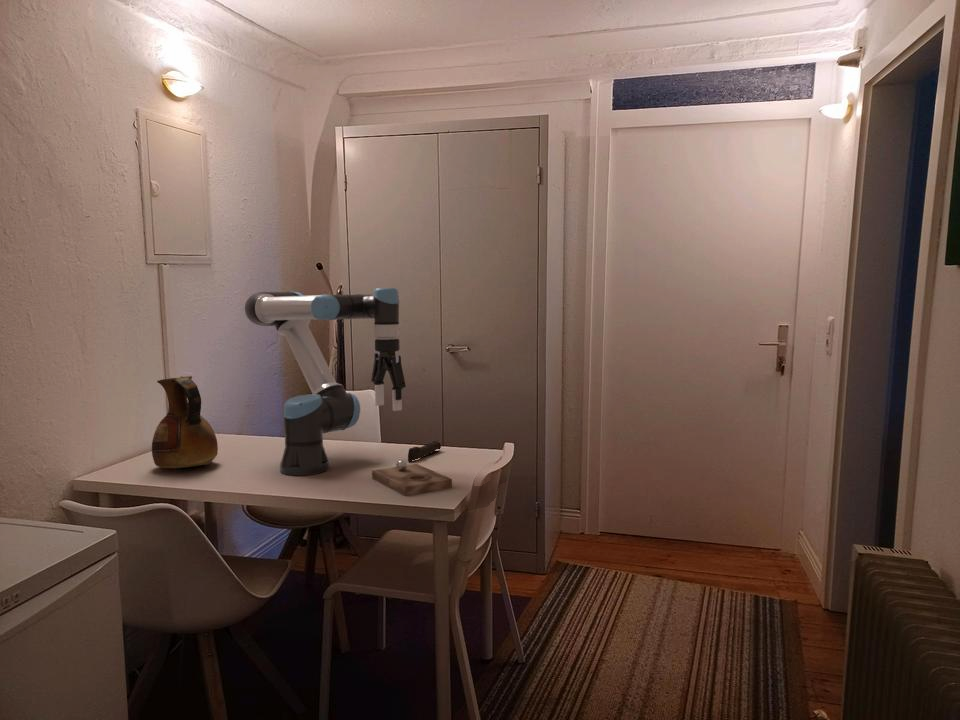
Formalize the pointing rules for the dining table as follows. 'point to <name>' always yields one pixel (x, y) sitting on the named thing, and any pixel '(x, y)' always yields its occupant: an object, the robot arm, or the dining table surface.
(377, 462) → the dining table surface
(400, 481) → the walnut plate
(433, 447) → the hand tool
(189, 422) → the ceramic pitcher
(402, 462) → the steel ball
